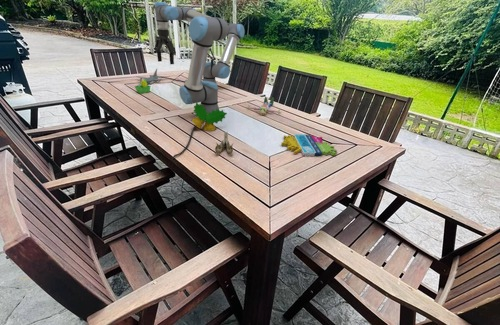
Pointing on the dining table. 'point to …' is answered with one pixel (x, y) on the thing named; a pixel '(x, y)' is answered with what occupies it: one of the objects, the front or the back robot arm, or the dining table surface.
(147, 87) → the green box with toys
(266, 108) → the toy
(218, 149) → the jawbone
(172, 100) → the dining table surface
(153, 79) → the airplane
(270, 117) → the dining table surface
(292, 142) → the colourful gloves pack
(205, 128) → the ornament
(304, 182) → the dining table surface
